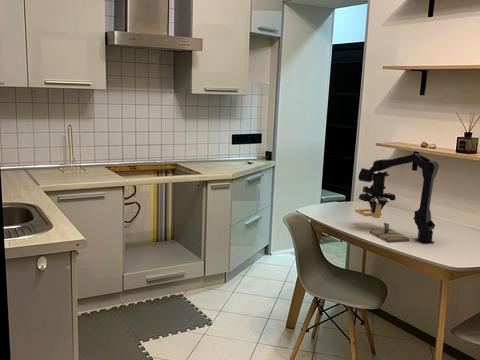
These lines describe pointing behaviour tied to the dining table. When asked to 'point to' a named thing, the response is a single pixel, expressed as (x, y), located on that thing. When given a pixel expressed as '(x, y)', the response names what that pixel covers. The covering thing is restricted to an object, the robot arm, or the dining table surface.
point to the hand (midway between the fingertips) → (375, 213)
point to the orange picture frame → (375, 214)
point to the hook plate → (389, 235)
